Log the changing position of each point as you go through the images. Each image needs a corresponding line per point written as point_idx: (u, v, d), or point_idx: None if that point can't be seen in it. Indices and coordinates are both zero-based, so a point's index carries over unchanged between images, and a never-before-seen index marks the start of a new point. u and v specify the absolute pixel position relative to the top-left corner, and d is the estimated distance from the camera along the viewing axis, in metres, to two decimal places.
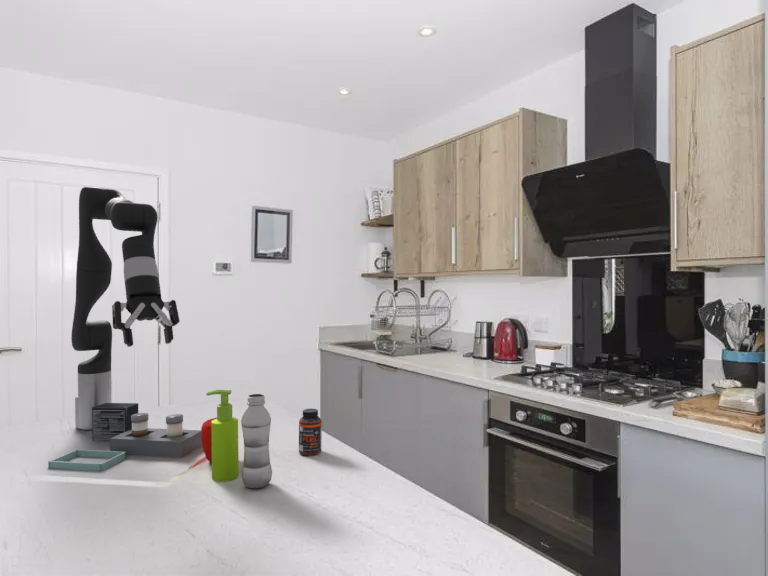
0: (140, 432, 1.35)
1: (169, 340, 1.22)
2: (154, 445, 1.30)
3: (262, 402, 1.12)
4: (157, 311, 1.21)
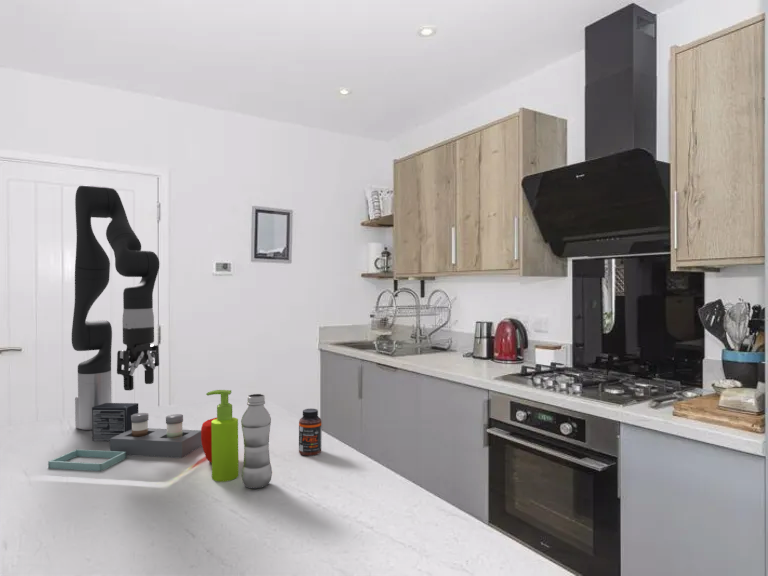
0: (140, 432, 1.35)
1: (152, 382, 1.40)
2: (154, 445, 1.30)
3: (262, 402, 1.12)
4: (149, 357, 1.38)
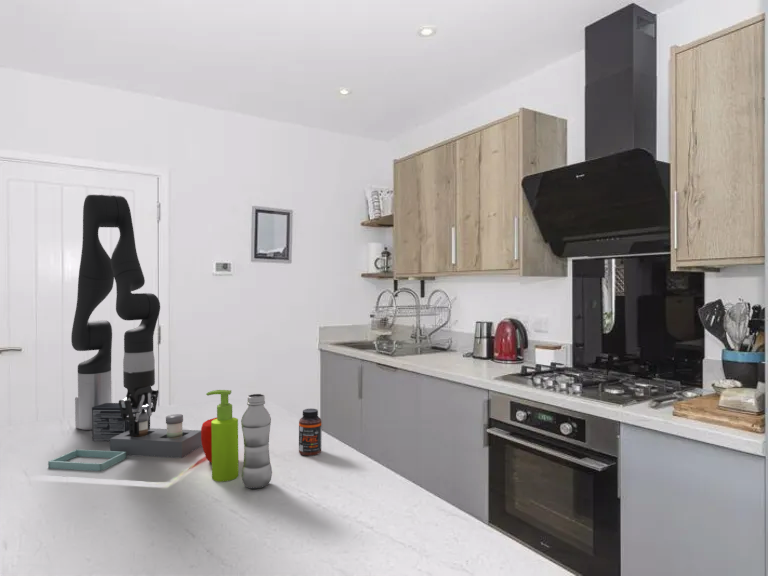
0: (141, 432, 1.35)
1: (148, 429, 1.38)
2: (154, 445, 1.30)
3: (262, 402, 1.12)
4: (148, 401, 1.37)
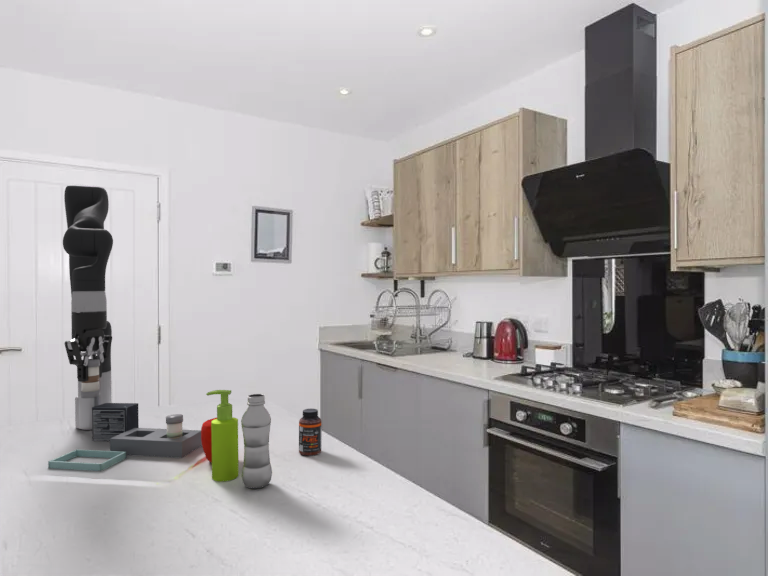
0: (90, 378, 1.24)
1: (100, 376, 1.28)
2: (154, 445, 1.30)
3: (262, 402, 1.12)
4: (99, 345, 1.27)
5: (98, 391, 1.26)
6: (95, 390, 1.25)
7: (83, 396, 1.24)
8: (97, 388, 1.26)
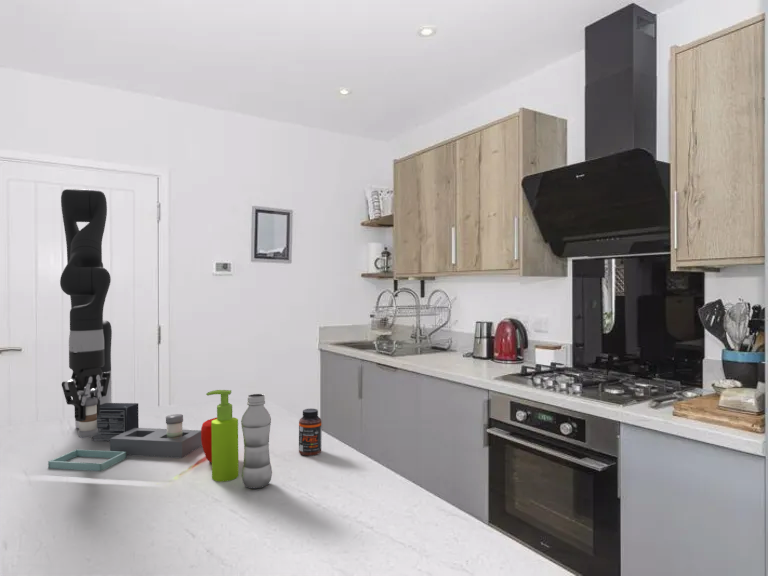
0: (88, 417, 1.24)
1: (98, 414, 1.28)
2: (154, 445, 1.30)
3: (262, 402, 1.12)
4: (97, 383, 1.27)
5: (96, 430, 1.25)
6: (93, 429, 1.25)
7: (80, 436, 1.24)
8: (95, 427, 1.25)
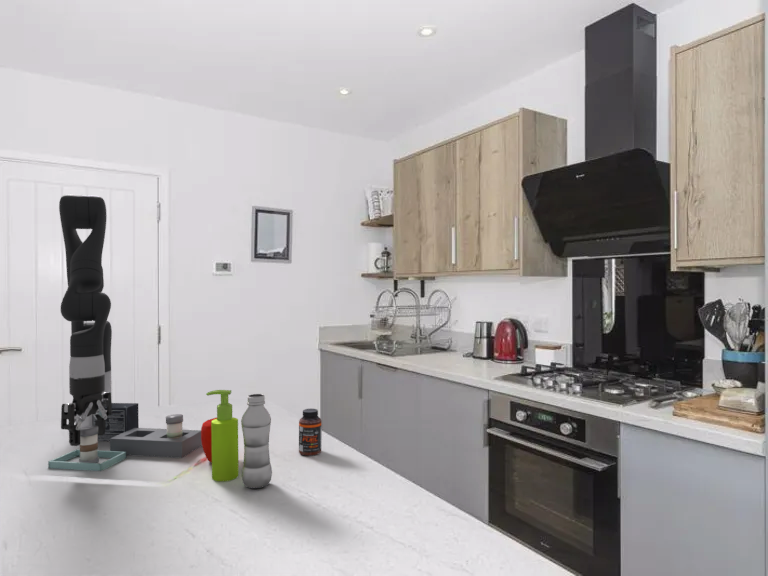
0: (89, 447, 1.24)
1: (103, 433, 1.30)
2: (154, 445, 1.30)
3: (262, 402, 1.12)
4: (99, 407, 1.27)
5: (96, 459, 1.26)
6: (93, 458, 1.25)
7: None
8: (96, 456, 1.26)
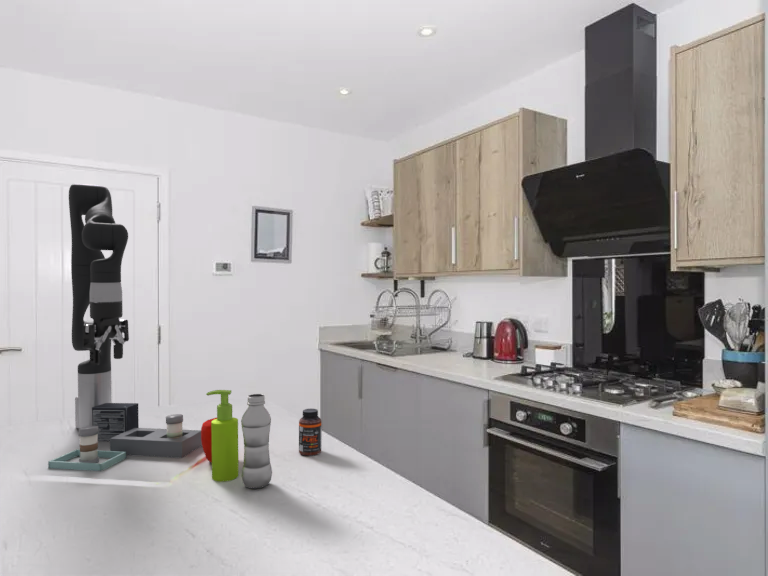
0: (89, 447, 1.24)
1: (121, 357, 1.38)
2: (154, 445, 1.30)
3: (262, 402, 1.12)
4: (117, 332, 1.36)
5: (96, 459, 1.26)
6: (93, 458, 1.25)
7: None
8: (96, 456, 1.26)
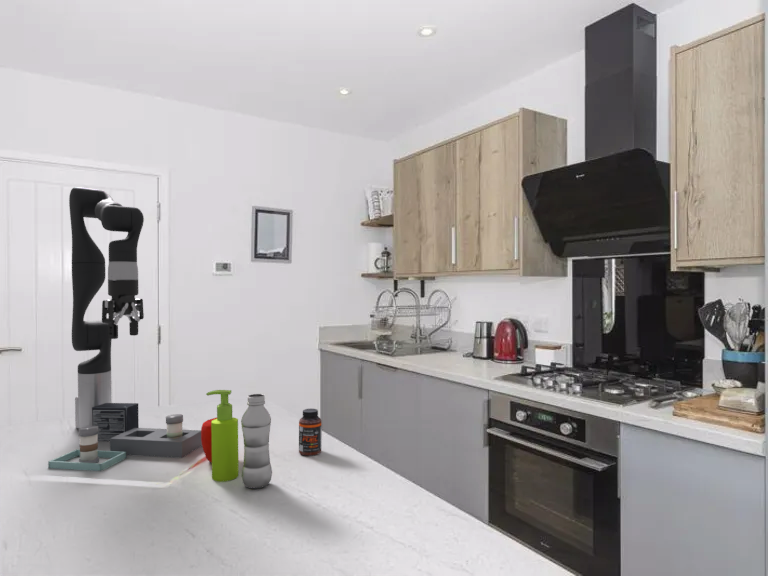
0: (89, 447, 1.24)
1: (136, 334, 1.46)
2: (154, 445, 1.30)
3: (262, 402, 1.12)
4: (133, 309, 1.44)
5: (96, 459, 1.26)
6: (93, 458, 1.25)
7: None
8: (96, 456, 1.26)
